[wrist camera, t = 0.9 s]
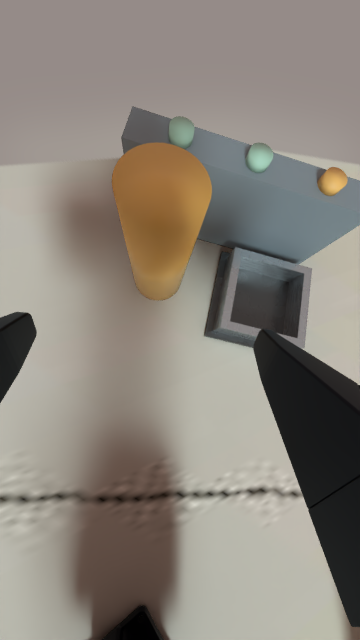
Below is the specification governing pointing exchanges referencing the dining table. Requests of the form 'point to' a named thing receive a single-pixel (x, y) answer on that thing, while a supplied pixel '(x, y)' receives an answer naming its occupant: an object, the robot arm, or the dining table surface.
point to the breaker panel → (258, 191)
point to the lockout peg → (160, 213)
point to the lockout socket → (258, 298)
